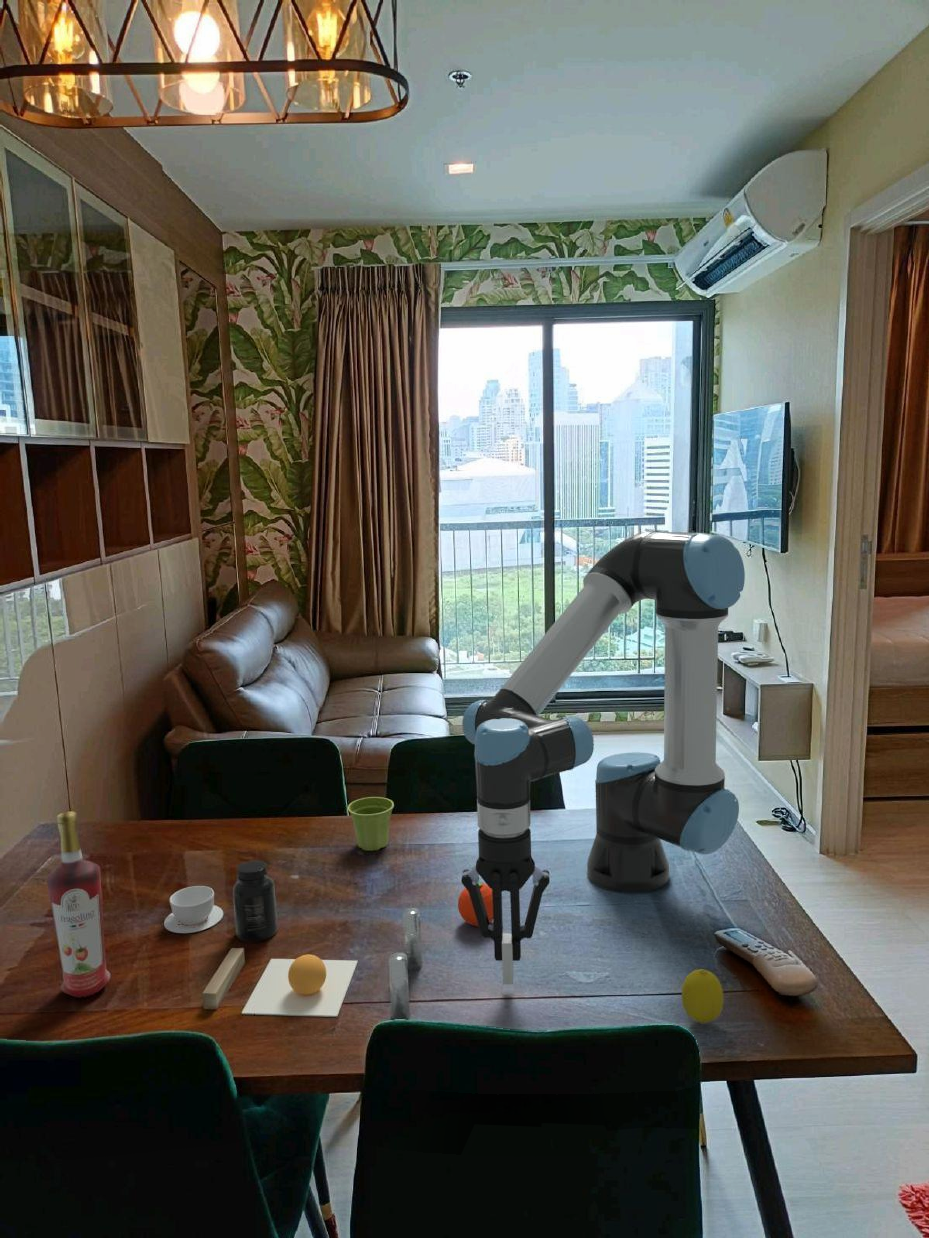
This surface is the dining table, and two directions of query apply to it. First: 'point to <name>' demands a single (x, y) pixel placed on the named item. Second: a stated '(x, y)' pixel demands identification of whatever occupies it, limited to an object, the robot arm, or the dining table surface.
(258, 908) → the supplement bottle
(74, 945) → the liquor
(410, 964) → the post
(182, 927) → the teacup
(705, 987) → the lemon
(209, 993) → the wall
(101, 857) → the dining table surface
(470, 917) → the clementine
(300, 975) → the ball
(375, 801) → the plant pot
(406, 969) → the post
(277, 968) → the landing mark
